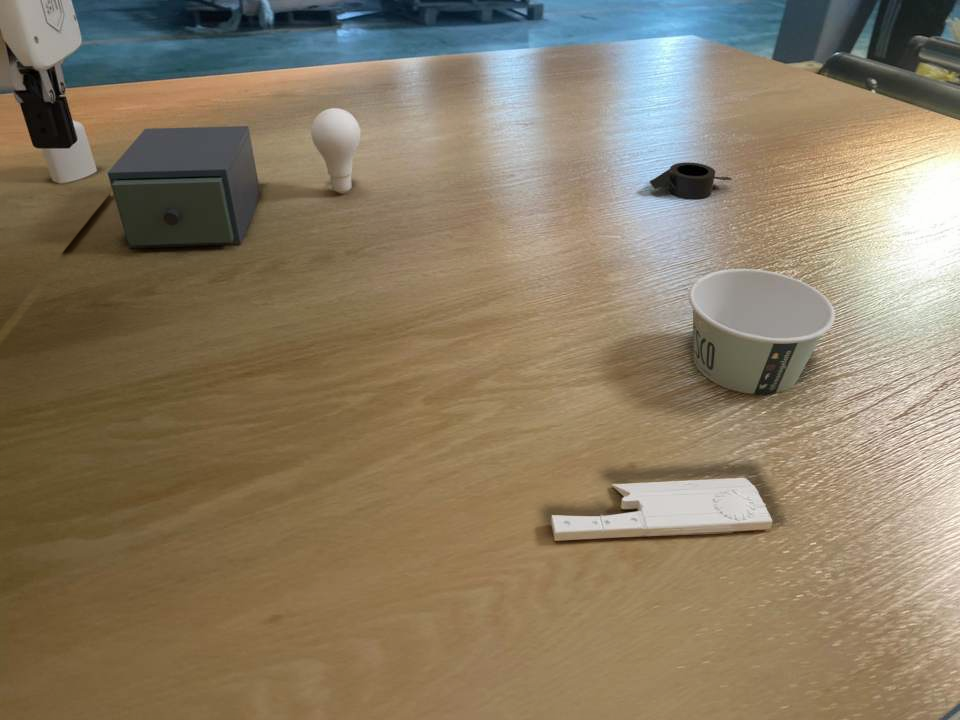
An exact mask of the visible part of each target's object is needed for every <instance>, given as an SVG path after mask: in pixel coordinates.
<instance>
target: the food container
mask: <svg viewBox="0 0 960 720" xmlns="http://www.w3.org/2000/svg"><path fill="white" fill-rule="evenodd" d="M688 302H689V304H690V306H691V309H692V347H693V348H692V349H693V350H692V351H693V354H692V355H693V363H694V365H695V367H696V369H697V370H698V371H699V372H700V373H701V375H703V377H705V378H707V379H708V380H709V381H711V382H712V383H714V384H716V385H717V386H720V387H722V388H725V389H728V390H731V391H734V392H738V393H742V394H748V395H772V394H778V393H781V392H784V391H787V390H788V389H790V388H791V387H793V386H794V385H795V384H796V383H797V381H798V379H799V378H800V376H801V374H802V372H803V371H804V369H805V366H807V363H808V361H809V360H810V358H811V356H812V354H813V352H814V350H815V349H816V347H817V345H818V343H819V341H820V340H821V338H822V336H823V335H825V334H826V333H828V332H829V331H830V330H832V328H833V326H834V325H835V322H836V321H835V320H836V311H835V308H834V306H833V305H832V303H831V301H830V300H829V299H828V298H827V297H826V296H825V295H824V294H823V293H822V292H821V291H820V290H818V289H817V288H815V287H813V286H812V285H809V284H808V283H807V282H804V281H802V280H799V279H796V278H794V277H793V276H792V277H791V276H789V275H785V274H782V273H778V272H774V271H768V270H762V269H755V268H730V269H729V268H728V269H722V270H717V271H713V272H709V273H707V274H705V275H702V276H701V277H699V278H698V279H696V281H694V282H693V283H692V285H691V286H690V288H689V290H688Z"/></svg>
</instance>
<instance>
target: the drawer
mask: <svg viewBox="0 0 960 720" xmlns="http://www.w3.org/2000/svg"><path fill="white" fill-rule="evenodd" d="M153 179H154V178H137V179H127V180H120V181H115V182H114V183H113V184H112V187H113V190H114V194H115V197H116V200H117V204H118V207H119V211H120V214H121V218H122V221H123V224H124V228H125V231H126V235H127V238H128V241H129V245H130V246H136V245H165V244H194V243H224V242H232V241H233V239H234V235H233V230H232V226H231V221H230V216H229V211H228V206H227V201H226V196H225V191H224V186H223V182H222V178H220V176H211V178H190V179H155V180H153ZM112 187H111V188H112ZM113 190H112V191H113ZM114 194H113V195H114ZM115 197H114V198H115ZM117 204H116V205H117ZM118 207H117V208H118ZM119 211H118V212H119ZM120 214H119V215H120ZM121 218H120V219H121ZM122 221H121V222H122ZM123 224H122V225H123ZM124 228H123V229H124ZM125 231H124V232H125ZM126 235H125V236H126ZM127 238H126V239H127ZM128 241H127V242H128ZM129 245H128V246H129Z"/></svg>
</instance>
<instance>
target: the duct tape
mask: <svg viewBox="0 0 960 720" xmlns="http://www.w3.org/2000/svg"><path fill="white" fill-rule="evenodd" d="M715 179H716V180H720V181H731V180H733V179H732V178H731V177H730V176H729V177H728V176H716V170H715V169H714V168H712V167H711V166H709V165H707V164H703V163H699V162H691V161H690V162H688V161H687V162H678V163H674V164H672V165H671V166H670V167H669V169H667V170H666V171H664V172H662V173H661V174H658V176H656V177H655V178H653V179H651V180H649V184H650V185H651V187H652V188H653V189H654V190H658V189H666V191H667V193H668V194H669V195H671V196H673V197H675V198H678V199H681V200H682V199H683V200H690V201H697V200H704V199H708V198H709V197H711V195H712V192H713V187H714V182H715Z"/></svg>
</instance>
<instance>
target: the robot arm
mask: <svg viewBox="0 0 960 720" xmlns="http://www.w3.org/2000/svg"><path fill="white" fill-rule="evenodd" d="M82 42H83V38H82V33H81V29H80V26H79V22H78V19H77V14H76V11H75V8H74V4H73V1H72V0H0V91H4V92H5V91H9V92H10V91H11V92H12V95H13V97H14V99H15V102H17V103H18V104H19V107H20V108H21V112H22V115H23V119H24V122H25V125H26V128H27V131H28V135H29V138H30V141H31V145H32V146H33V147H34V148H35V149H38V150H39V149H40V150H42V149H68V148H70V147H71V146H72V145H73V144H75V143H76V142H77V140H78V139H77V135H76V131H75V128H74V124H73V120H74V119H73V117H72V114H71V109H70V105H69V103H68V98H67V96H66V92H67V89H66V88H67V87H66V83H65V78H64V73H63V69H62V67H63V66H62V65H63V64H64V61H65V59H67V58H68V57H70V56H71V55H72V54H74V53H75V52H76V51H77V50H78V49H79V48H80V47H81V45H82ZM17 60H18V61H17Z"/></svg>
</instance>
